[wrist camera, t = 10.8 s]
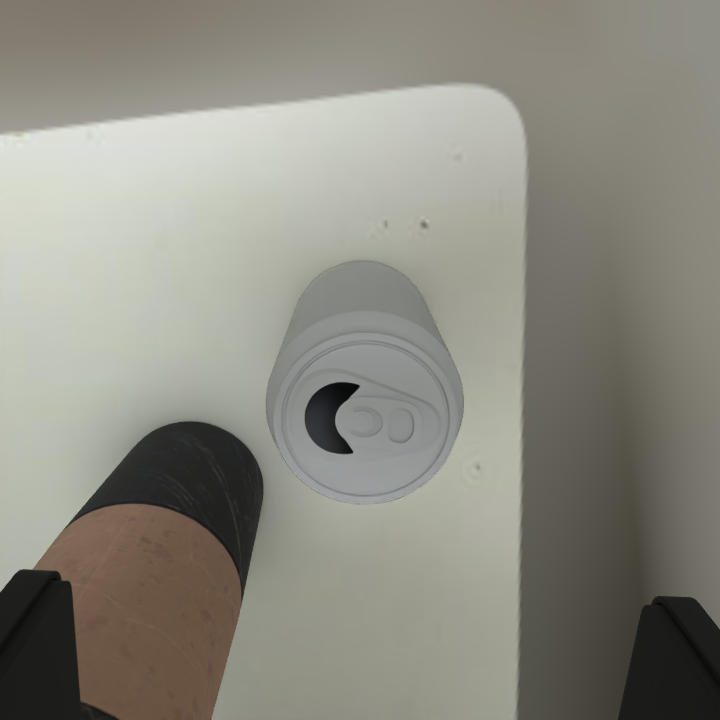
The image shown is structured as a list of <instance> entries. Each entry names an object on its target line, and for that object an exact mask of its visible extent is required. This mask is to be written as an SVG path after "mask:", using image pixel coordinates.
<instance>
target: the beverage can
mask: <svg viewBox="0 0 720 720" xmlns="http://www.w3.org/2000/svg"><path fill="white" fill-rule="evenodd" d="M463 408H464V396H463V388H462V383H461V379H460V376H459V373H458V371H457V368H456V366H455V364H454V362H453V360H452V357H451V355H450V353H449V351H448V349H447V347H446V345H445V343H444V341H443V339H442V337H441V335H440V332H439V330H438V328H437V326H436V324H435V322H434V320H433V318H432V316H431V314H430V312H429V309H428V307H427V305H426V303H425V301H424V299H423V297H422V295H421V294H420V292H419V291H418V289H417V288H416V287H415V286H414V284H413V283H412V282H411V281H410V280H409V279H408V278H406V277H405V276H404V275H403V274H401V273H399V272H398V271H396V270H394V269H392V268H390V267H388V266H385V265H382V264H379V263H374V262H366V261H356V262H349V263H344V264H340V265H338V266H335V267H332V268H330V269H329V270H327V271H325V272H323V273H322V274H320V275H319V276H318V277H317V278H315V279H314V280H313V281H312V282H311V283H310V284H309V286H308V287H307V288H306V290H305V291H304V292H303V294H302V295H301V297H300V299H299V301H298V303H297V306H296V308H295V311H294V314H293V316H292V319H291V322H290V324H289V327H288V330H287V333H286V335H285V338H284V341H283V343H282V346H281V349H280V351H279V354H278V357H277V359H276V362H275V365H274V368H273V370H272V373H271V376H270V379H269V382H268V387H267V394H266V414H267V420H268V425H269V429H270V432H271V434H272V437H273V439H274V441H275V443H276V445H277V447H278V449H279V450H280V453H281V455H282V457H283V459H284V460H285V462H286V463H287V465H288V466H289V468H290V469H291V470H292V472H293V473H294V474H295V475H296V476H297V477H298V478H299V479H300V480H301V481H302V482H303V483H305V484H306V485H307V486H309V487H310V488H311V489H313V490H315V491H316V492H318V493H320V494H322V495H324V496H326V497H328V498H331V499H334V500H337V501H341V502H345V503H352V504H378V503H384V502H389V501H392V500H396V499H398V498H401V497H404V496H406V495H408V494H410V493H412V492H414V491H415V490H417V489H418V488H420V487H421V486H423V485H424V484H425V483H427V482H428V481H429V480H430V479H431V478H432V477H433V476H434V475H435V474H436V473H437V472H438V471H439V469H440V468H441V467H442V465H443V464H444V463H445V461H446V459H447V458H448V456H449V454H450V452H451V449H452V447H453V445H454V442H455V439H456V437H457V435H458V432H459V430H460V426H461V422H462V418H463Z"/></svg>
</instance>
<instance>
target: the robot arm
mask: <svg viewBox="0 0 720 720" xmlns="http://www.w3.org/2000/svg"><path fill="white" fill-rule="evenodd" d="M0 720H81V700H80V687H79V674H78V661H77V647H76V634H75V621H74V608H73V595H72V586H71V583H70V582H69V581H63V580H62V579H61V575H60V573H59V572H58V571H50V570H26V569H22V570H19V571H18V572H17V573H16V574H15V575H14V576H13V577H12V579H11V580H10V581H9V582H8V584H7V585H6V586H5V587H4V589H3V590H2V591H1V592H0ZM618 720H720V629H719V628H718V627H717V625H716V624H715V623H714V622H713V620H712V619H711V618H710V617H709V615H708V614H707V613H706V612H705V610H704V609H703V608H702V606H701V605H700V604H699V603H698V602H697V601H696V600H695V599H693V598H691V597H668V596H658V597H655V598H654V600H653V601H652V604H651V605H645V606H644V607H643V609H642V612H641V615H640V620H639V625H638V630H637V634H636V638H635V643H634V648H633V652H632V657H631V662H630V666H629V671H628V675H627V680H626V685H625V689H624V694H623V699H622V703H621V708H620V712H619V717H618Z"/></svg>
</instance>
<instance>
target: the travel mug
mask: <svg viewBox="0 0 720 720" xmlns="http://www.w3.org/2000/svg"><path fill="white" fill-rule="evenodd" d="M262 499H263V480H262V475H261V472H260V468H259V466H258V464H257V462H256V460H255V458H254V456H253V455H252V453H251V452H250V451H249V449H248V448H247V447H246V446H245V445H244V444H243V443H242V442H241V441H240V440H239V439H237V438H236V437H235V436H233V435H232V434H230V433H229V432H227V431H225V430H223V429H221V428H218V427H216V426H213V425H209V424H205V423H199V422H179V423H174V424H170V425H167V426H164V427H161V428H159V429H157V430H155V431H153V432H151V433H150V434H148V435H147V436H145V437H144V438H143V439H142V440H141V441H140V442H139V443H138V444H137V445H136V446H135V447H134V448H133V449H132V450H131V451H130V452H129V454H128V455H127V456H126V457H125V458H124V459H123V460H122V462H121V463H120V464H119V465H118V466H117V468H116V469H115V470H114V471H113V472H112V473H111V475H110V476H109V477H108V478H107V479H106V480H105V482H104V483H103V484H102V485H101V486H100V487H99V489H98V490H97V491H96V492H95V493H94V495H93V496H92V497H91V498H90V499H89V500H88V502H87V503H86V504H85V505H84V506H83V507H82V509H81V510H80V511H79V512H78V513H77V514H76V516H75V517H74V518H73V519H72V520H71V521H70V523H69V524H68V525H67V526H66V527H65V529H64V530H63V531H62V532H61V533H60V535H59V536H58V537H57V538H56V539H55V541H54V542H53V543H52V545H51V546H50V547H49V549H48V550H47V551H46V553H45V554H44V555H43V556H42V558H41V559H40V560H39V562H38V563H37V564H36V566H35V567H34V568H33V570H50V571H58V572H59V573H60V575H61V579H62V580H63V581H69V582H70V583H71V586H72V595H73V608H74V621H75V634H76V647H77V661H78V674H79V687H80V700H81V720H211V718H212V714H213V711H214V707H215V703H216V699H217V696H218V692H219V688H220V684H221V681H222V677H223V673H224V670H225V666H226V662H227V658H228V655H229V651H230V647H231V643H232V640H233V636H234V632H235V629H236V625H237V621H238V617H239V614H240V608H241V605H242V600H243V595H244V590H245V585H246V580H247V575H248V570H249V566H250V561H251V556H252V551H253V546H254V541H255V536H256V531H257V527H258V522H259V516H260V511H261V505H262Z"/></svg>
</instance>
